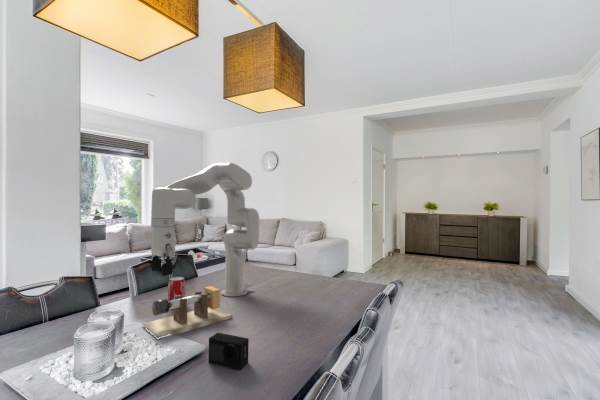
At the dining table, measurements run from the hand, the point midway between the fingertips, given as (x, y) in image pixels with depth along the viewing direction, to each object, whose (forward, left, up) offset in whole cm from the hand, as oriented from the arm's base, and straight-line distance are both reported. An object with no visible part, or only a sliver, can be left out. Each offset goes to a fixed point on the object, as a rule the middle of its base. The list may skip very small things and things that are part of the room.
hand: (161, 272), depth 104 cm
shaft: (-10, 0, -15) cm, 18 cm away
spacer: (-20, 0, -13) cm, 23 cm away
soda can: (-14, -20, -20) cm, 32 cm away
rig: (-11, 0, -20) cm, 23 cm away
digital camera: (-5, +35, -20) cm, 41 cm away
